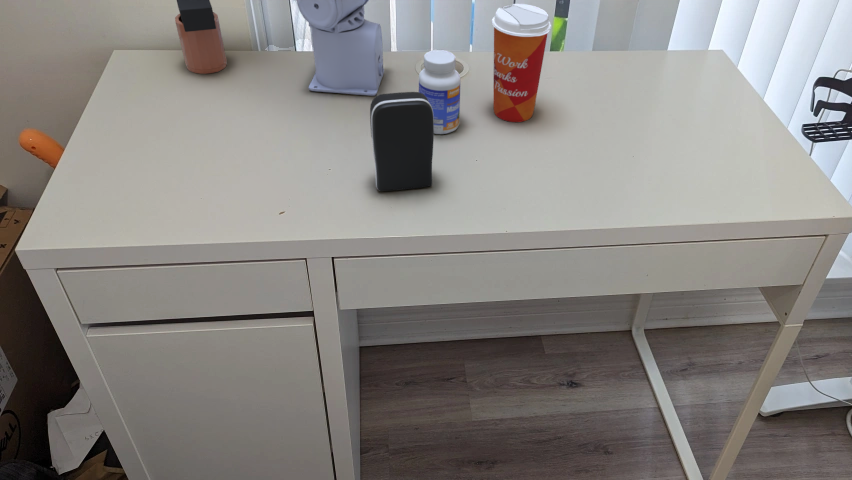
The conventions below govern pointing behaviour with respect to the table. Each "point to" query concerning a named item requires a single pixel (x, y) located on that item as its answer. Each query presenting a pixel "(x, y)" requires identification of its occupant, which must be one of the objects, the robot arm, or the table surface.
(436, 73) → the pill bottle
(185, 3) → the black block
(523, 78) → the paper cup
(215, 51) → the terracotta cup
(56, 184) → the table surface
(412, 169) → the battery charger
